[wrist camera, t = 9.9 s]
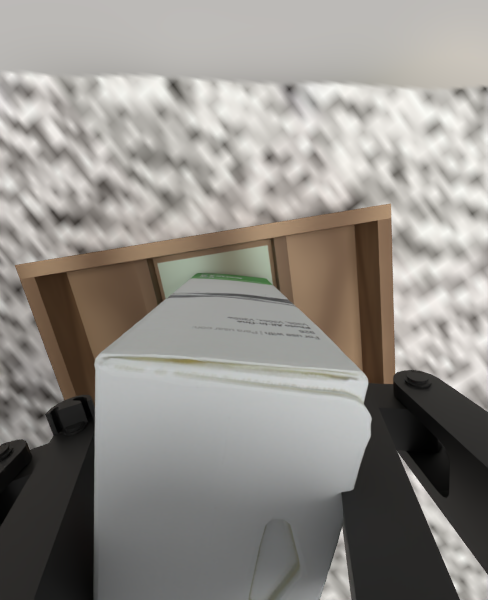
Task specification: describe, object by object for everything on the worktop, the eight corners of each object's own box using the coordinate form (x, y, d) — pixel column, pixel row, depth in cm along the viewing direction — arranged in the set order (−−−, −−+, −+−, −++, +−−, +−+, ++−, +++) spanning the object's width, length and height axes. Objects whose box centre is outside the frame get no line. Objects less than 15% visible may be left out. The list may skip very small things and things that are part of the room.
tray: (112, 425, 20) (87, 463, 16) (58, 261, 17) (14, 265, 13) (367, 381, 20) (396, 408, 17) (359, 212, 17) (390, 203, 14)
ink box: (193, 269, 15) (69, 338, 3) (271, 278, 15) (392, 367, 4) (183, 392, 17) (78, 711, 5) (253, 397, 17) (301, 705, 6)
